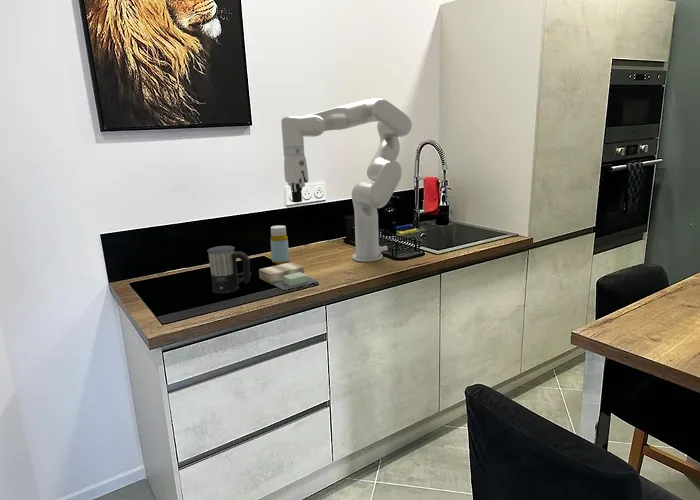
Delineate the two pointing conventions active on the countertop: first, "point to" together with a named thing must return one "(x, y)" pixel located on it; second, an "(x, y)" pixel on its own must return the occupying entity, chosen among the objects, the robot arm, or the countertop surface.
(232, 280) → the milk frother
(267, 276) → the birch board
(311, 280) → the rubber mat
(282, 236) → the bottle
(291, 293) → the countertop surface
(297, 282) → the green block
